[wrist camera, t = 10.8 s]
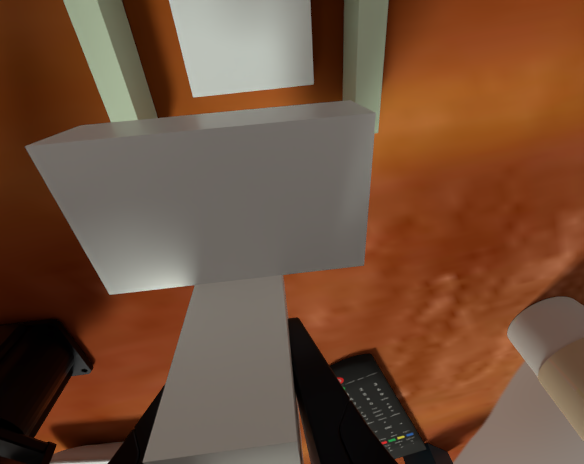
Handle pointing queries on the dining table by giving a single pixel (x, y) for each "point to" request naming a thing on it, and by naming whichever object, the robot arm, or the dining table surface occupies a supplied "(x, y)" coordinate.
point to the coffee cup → (555, 352)
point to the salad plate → (87, 454)
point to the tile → (244, 44)
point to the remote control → (378, 404)
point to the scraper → (220, 251)
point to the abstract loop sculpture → (429, 456)
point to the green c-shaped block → (131, 79)
